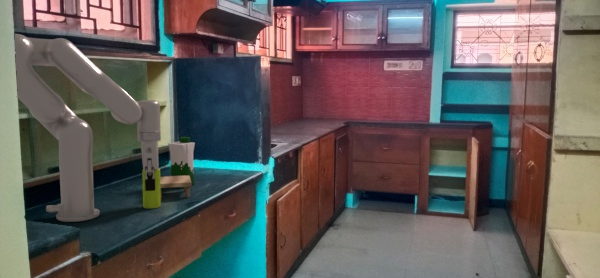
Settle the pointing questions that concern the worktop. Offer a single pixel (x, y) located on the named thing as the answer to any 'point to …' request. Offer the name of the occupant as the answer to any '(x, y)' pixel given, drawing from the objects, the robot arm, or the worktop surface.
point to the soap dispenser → (152, 197)
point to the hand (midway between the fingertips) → (150, 187)
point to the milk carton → (182, 158)
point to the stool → (176, 183)
